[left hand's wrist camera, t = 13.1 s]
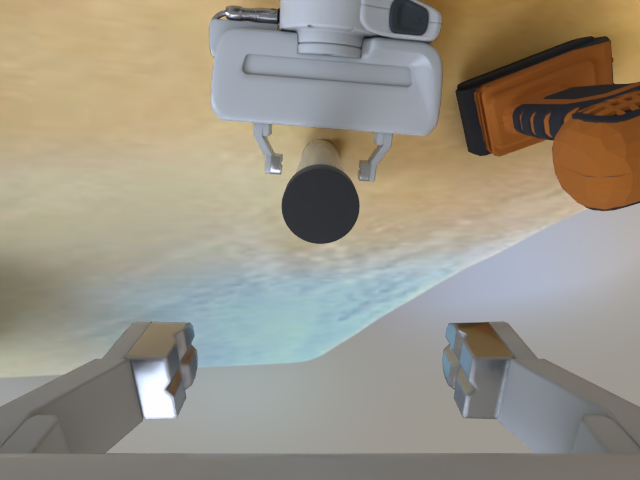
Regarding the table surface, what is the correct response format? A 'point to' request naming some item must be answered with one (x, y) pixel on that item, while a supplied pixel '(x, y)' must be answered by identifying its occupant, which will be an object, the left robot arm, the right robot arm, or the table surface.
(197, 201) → the table surface
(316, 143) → the white cylinder
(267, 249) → the table surface
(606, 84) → the power drill
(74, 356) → the table surface
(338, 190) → the lid
